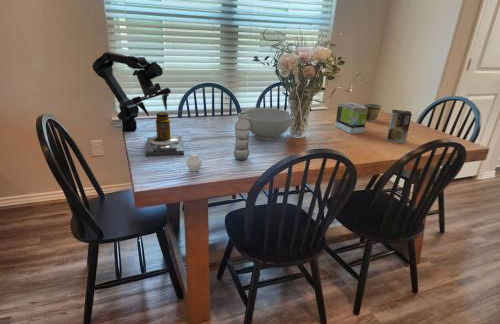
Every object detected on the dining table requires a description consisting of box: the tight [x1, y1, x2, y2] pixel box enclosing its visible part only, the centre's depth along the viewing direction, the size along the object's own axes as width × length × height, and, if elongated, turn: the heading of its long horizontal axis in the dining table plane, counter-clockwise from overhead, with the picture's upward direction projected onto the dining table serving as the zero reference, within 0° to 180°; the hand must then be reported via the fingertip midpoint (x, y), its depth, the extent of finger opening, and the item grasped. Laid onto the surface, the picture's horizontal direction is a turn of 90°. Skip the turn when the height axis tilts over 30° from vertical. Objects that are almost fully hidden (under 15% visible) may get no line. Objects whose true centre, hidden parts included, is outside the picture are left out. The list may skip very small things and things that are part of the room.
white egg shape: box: [185, 153, 203, 173], centre depth 126 cm, size 6×6×7 cm
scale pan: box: [150, 134, 179, 145], centre depth 151 cm, size 13×13×1 cm
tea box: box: [334, 101, 368, 135], centre depth 185 cm, size 15×10×15 cm
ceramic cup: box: [363, 103, 382, 123], centre depth 208 cm, size 13×10×10 cm
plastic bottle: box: [233, 112, 251, 161], centre depth 137 cm, size 6×7×20 cm
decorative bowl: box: [241, 107, 295, 141], centre depth 168 cm, size 27×27×12 cm
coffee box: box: [386, 109, 413, 145], centre depth 169 cm, size 9×6×16 cm
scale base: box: [145, 135, 185, 158], centre depth 148 cm, size 16×20×3 cm
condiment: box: [152, 112, 173, 143], centre depth 148 cm, size 7×8×12 cm
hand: (157, 113), depth 159 cm, fingers open, 9 cm apart
